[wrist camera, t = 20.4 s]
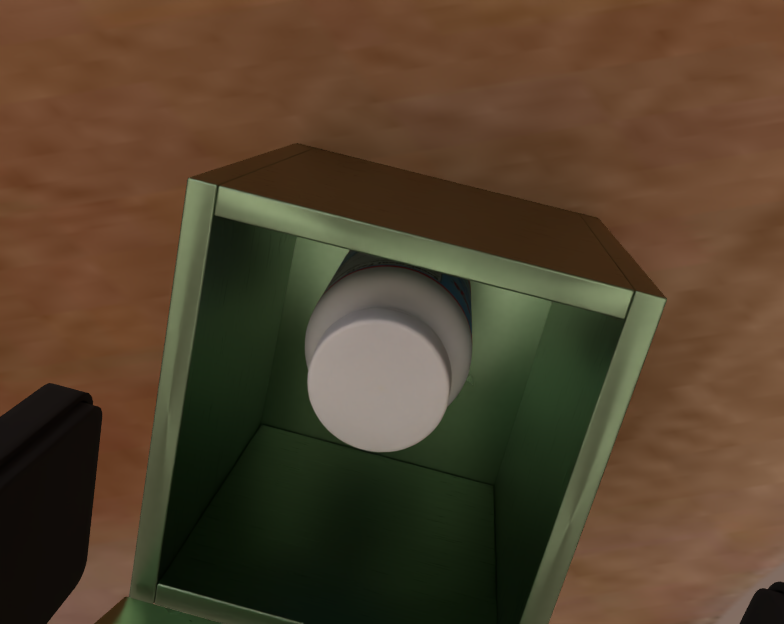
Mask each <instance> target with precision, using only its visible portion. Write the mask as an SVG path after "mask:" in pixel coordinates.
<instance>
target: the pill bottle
mask: <svg viewBox="0 0 784 624" xmlns="http://www.w3.org/2000/svg"><path fill="white" fill-rule="evenodd" d="M305 358H306V364H307V368H308V379H307V385H308V394H309V399H310V402H311V404H312V407H313V409H314V411H315V413H316V415H317V417H318V418H319V420H320V421H321V423H322V424H323V425H324V426H325V427H326V428H327V430H328V431H329V432H331V433H332V434H333V435H334V436H335V437H337V438H338V439H340V440H341V441H343V442H345V443H346V444H349V445H351V446H353V447H355V448H358V449H362V450H366V451H372V452H392V451H398V450H402V449H405V448H408V447H410V446H413V445H415V444H417V443H418V442H420V441H422V440H423V439H424V438H426V437H427V436H428V435H429V434H430V433H431V432H432V431H433V430H434V429H435V428H436V427H437V426H438V424H439V423H440V421H441V420H442V418H443V416H444V413H445V411H446V409H447V407H448V406H449V405H450V404H451V403H452V402H453V400H454V399H455V398H456V397H457V395H458V394H459V392H460V391H461V389H462V387H463V385H464V383H465V381H466V379H467V376H468V373H469V369H470V365H471V359H472V313H471V287H470V280H466V279H462V278H458V277H454V276H450V275H446V274H442V273H438V272H434V271H430V270H426V269H422V268H418V267H415V266H411V265H407V264H403V263H399V262H395V261H391V260H387V259H383V258H379V257H375V256H371V255H367V254H363V253H359V252H356V251H352V250H350V251H349V252H348V254H347V255H346V256H345V258H344V260H343V261H342V263H341V265H340V266H339V268H338V270H337V271H336V273H335V275H334V276H333V278H332V280H331V281H330V283H329V285H328V286H327V288H326V290H325V292H324V293H323V295H322V296H321V298H320V300H319V301H318V303H317V305H316V307H315V309H314V311H313V313H312V315H311V317H310V320H309V323H308V326H307V330H306V335H305Z"/></svg>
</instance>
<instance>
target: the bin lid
mask: <svg viewBox="0 0 784 624" xmlns="http://www.w3.org/2000/svg"><path fill="white" fill-rule="evenodd" d="M94 624H223V623H219V622H216V621H212V620H209V619H205V618H202V617H198V616H194V615H191V614H187V613H184V612H180V611H176V610H173V609H169V608H166V607H162V606H158V605H155V604H151V603H148V602H144V601H140V600H137V599H133V598H130V597H124V598H123V599H122V600H121V601H120V602H119V603H117V604H116V605H115V606H114V607H113V608H112V609H111V610H109V611H108V612H107V613H106V614H105V615H104V616H103V617H101V618H100V619H99V620H98V621H97V622H96V623H94Z"/></svg>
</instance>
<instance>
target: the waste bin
mask: <svg viewBox="0 0 784 624" xmlns="http://www.w3.org/2000/svg"><path fill="white" fill-rule="evenodd" d="M350 250H352V251H356V252H359V253H363V254H367V255H371V256H375V257H379V258H383V259H387V260H391V261H395V262H399V263H403V264H407V265H411V266H415V267H418V268H422V269H426V270H430V271H434V272H438V273H442V274H446V275H450V276H454V277H458V278H462V279H466V280H470V287H471V313H472V359H471V365H470V369H469V373H468V376H467V379H466V381H465V383H464V385H463V387H462V389H461V391H460V392H459V394H458V395H457V397H456V398H455V399H454V400H453V402H452V403H451V404H450V405H449V406H448V407H447V409H446V411H445V413H444V416H443V418H442V420H441V421H440V423H439V424H438V426H437V427H436V428H435V429H434V430H433V431H432V432H431V433H430V434H429V435H428V436H427V437H426V438H424V439H423V440H422V441H420V442H418V443H417V444H415V445H413V446H410V447H408V448H405V449H402V450H398V451H392V452H372V451H366V450H362V449H358V448H355V447H353V446H351V445H349V444H346V443H345V442H343V441H341V440H340V439H338V438H337V437H335V436H334V435H333V434H332V433H331V432H329V431H328V430H327V428H326V427H325V426H324V425H323V424H322V423H321V421H320V420H319V418H318V417H317V415H316V413H315V411H314V409H313V407H312V404H311V402H310V399H309V394H308V385H307V379H308V368H307V364H306V358H305V335H306V330H307V326H308V323H309V320H310V317H311V315H312V313H313V311H314V309H315V307H316V305H317V303H318V301H319V300H320V298H321V296H322V295H323V293H324V292H325V290H326V288H327V286H328V285H329V283H330V281H331V280H332V278H333V276H334V275H335V273H336V271H337V270H338V268H339V266H340V265H341V263H342V261H343V260H344V258H345V256H346V255H347V254H348V252H349V251H350ZM666 301H667V298H666V297H665V296H664V295H663V293H662V292H661V291H660V290H659V289H658V288H657V286H656V285H655V284H654V283H653V282H652V280H651V279H650V278H649V277H648V276H647V275H646V273H645V272H644V271H643V270H642V269H641V268H640V266H639V265H638V264H637V263H636V262H635V260H634V259H633V258H632V257H631V256H630V255H629V253H628V252H627V251H626V250H625V249H624V248H623V246H622V245H621V244H620V243H619V242H618V240H617V239H616V238H615V237H614V236H613V235H612V233H611V232H610V231H609V230H608V229H607V228H606V226H605V225H604V224H603V223H602V222H601V220H600V219H598V218H596V217H592V216H588V215H584V214H580V213H576V212H572V211H568V210H564V209H560V208H556V207H552V206H548V205H544V204H540V203H536V202H532V201H528V200H524V199H520V198H516V197H512V196H508V195H504V194H500V193H495V192H491V191H487V190H483V189H479V188H475V187H471V186H467V185H463V184H459V183H455V182H451V181H447V180H443V179H439V178H435V177H431V176H427V175H423V174H419V173H415V172H411V171H407V170H403V169H399V168H395V167H391V166H387V165H383V164H379V163H375V162H371V161H367V160H363V159H359V158H355V157H351V156H347V155H343V154H339V153H335V152H331V151H327V150H322V149H318V148H314V147H310V146H306V145H302V144H298V143H297V144H292V145H289V146H286V147H283V148H280V149H277V150H273V151H270V152H267V153H264V154H261V155H258V156H255V157H252V158H249V159H245V160H242V161H239V162H236V163H233V164H230V165H227V166H224V167H221V168H218V169H214V170H211V171H208V172H205V173H202V174H199V175H196V176H193V177H190V178H188V180H187V187H186V194H185V202H184V209H183V216H182V223H181V230H180V237H179V244H178V252H177V259H176V266H175V273H174V280H173V287H172V294H171V301H170V309H169V316H168V323H167V330H166V337H165V344H164V351H163V359H162V366H161V373H160V380H159V387H158V394H157V401H156V409H155V416H154V423H153V430H152V437H151V444H150V451H149V458H148V466H147V473H146V480H145V487H144V494H143V501H142V508H141V516H140V523H139V530H138V537H137V544H136V551H135V558H134V566H133V573H132V580H131V587H130V594H129V597H130V598H133V599H137V600H140V601H144V602H148V603H151V604H153V603H154V602H155V604H156V605H160V606H163V607H167V608H170V609H174V610H178V611H181V612H185V613H188V614H192V615H196V616H199V617H203V618H206V619H210V620H213V621H217V622H221V623H224V624H548V623H549V621H550V618H551V615H552V612H553V610H554V607H555V604H556V602H557V599H558V596H559V593H560V591H561V588H562V585H563V582H564V580H565V577H566V574H567V572H568V569H569V566H570V563H571V561H572V558H573V555H574V552H575V550H576V547H577V544H578V541H579V539H580V536H581V533H582V531H583V528H584V525H585V522H586V520H587V517H588V514H589V511H590V509H591V506H592V503H593V501H594V498H595V495H596V492H597V490H598V487H599V484H600V481H601V479H602V476H603V473H604V470H605V468H606V465H607V462H608V460H609V457H610V454H611V451H612V449H613V446H614V443H615V440H616V438H617V435H618V432H619V430H620V427H621V424H622V421H623V419H624V416H625V413H626V410H627V408H628V405H629V402H630V399H631V397H632V394H633V391H634V389H635V386H636V383H637V380H638V378H639V375H640V372H641V369H642V367H643V364H644V361H645V359H646V356H647V353H648V350H649V348H650V345H651V342H652V339H653V337H654V334H655V331H656V328H657V326H658V323H659V320H660V318H661V315H662V312H663V309H664V307H665V304H666Z"/></svg>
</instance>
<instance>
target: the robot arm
mask: <svg viewBox="0 0 784 624" xmlns="http://www.w3.org/2000/svg"><path fill="white" fill-rule="evenodd" d="M101 424H102V411H101V408H100V407H98V406H94V405H93V400H92V396H91V395H90V394H89V393H86V392H82V391H78V390H75V389H71V388H67V387H64V386H60V385H56V384H51V383H48V384H46V385H44V386H43V387H41V388H40V389H38V390H37V391H36V392H34V393H33V394H31V395H30V396H29V397H27V398H26V399H25V400H23V401H22V402H20V403H19V404H18V405H16V406H15V407H13V408H12V409H11V410H9V411H8V412H6V413H5V414H4V415H2V416H1V417H0V624H47V622H48V621H49V620H50V619H51V617H52V616H53V615H54V614H55V612H56V611H57V610H58V609H59V607H60V606H61V605H62V604H63V602H64V601H65V600H66V598H67V597H68V596H69V595H70V593H71V592H72V591H73V590H74V588H75V587H76V585H77V584H78V582H79V580H80V579H81V577H82V574H83V572H84V569H85V566H86V561H87V554H88V545H89V536H90V526H91V517H92V508H93V498H94V489H95V480H96V470H97V461H98V452H99V442H100V433H101ZM740 624H784V582H776V583H774V584H772V585H771V586H770V587H769V588H768V589H764V588H762V589H759V590H758V591H757V592H756V593H755V594H754V596H753V598H752V600H751V602H750V604H749V606H748V608H747V610H746V612H745V614H744V616H743V618H742V620H741V622H740Z"/></svg>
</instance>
